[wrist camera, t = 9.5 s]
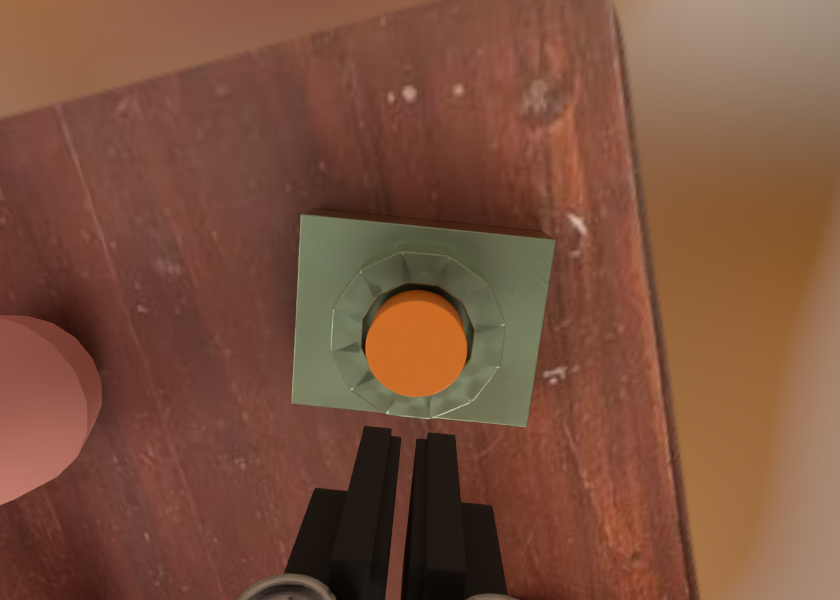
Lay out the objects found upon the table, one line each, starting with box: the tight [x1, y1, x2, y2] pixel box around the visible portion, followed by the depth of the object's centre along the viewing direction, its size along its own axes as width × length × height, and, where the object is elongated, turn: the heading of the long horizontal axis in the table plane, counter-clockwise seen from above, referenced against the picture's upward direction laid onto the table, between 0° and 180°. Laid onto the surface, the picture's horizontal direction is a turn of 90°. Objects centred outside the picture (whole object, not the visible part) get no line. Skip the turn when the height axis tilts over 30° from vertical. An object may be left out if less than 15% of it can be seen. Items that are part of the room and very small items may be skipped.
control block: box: [291, 208, 556, 427], centre depth 24 cm, size 10×8×4 cm
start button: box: [365, 290, 467, 397], centre depth 21 cm, size 4×4×2 cm
